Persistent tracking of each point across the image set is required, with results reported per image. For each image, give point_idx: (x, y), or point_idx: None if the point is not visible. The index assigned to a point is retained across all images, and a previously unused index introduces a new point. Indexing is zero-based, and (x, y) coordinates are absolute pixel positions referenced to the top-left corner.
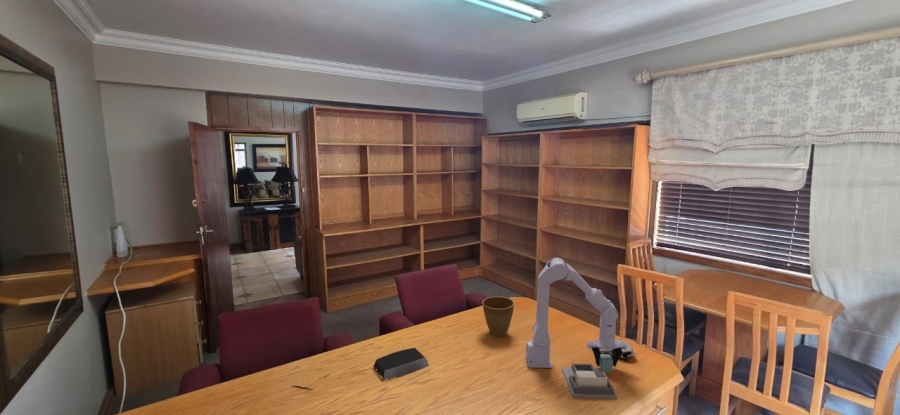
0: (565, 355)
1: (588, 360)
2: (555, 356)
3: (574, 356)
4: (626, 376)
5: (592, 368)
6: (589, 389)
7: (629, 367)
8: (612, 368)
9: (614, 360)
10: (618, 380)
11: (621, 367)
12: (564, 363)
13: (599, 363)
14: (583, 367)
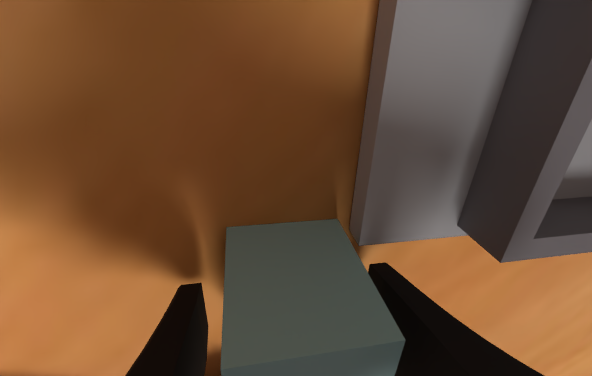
0: None
1: None
2: (566, 337)
3: None
4: (64, 153)
5: (559, 166)
6: None
7: (8, 325)
8: (228, 253)
9: (184, 370)
10: (202, 45)
11: (105, 310)
12: (571, 279)
13: (393, 289)
14: (566, 212)
